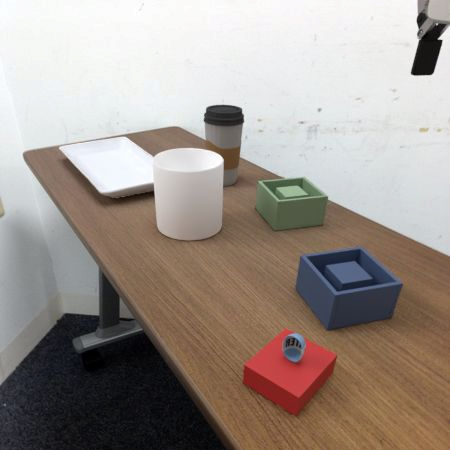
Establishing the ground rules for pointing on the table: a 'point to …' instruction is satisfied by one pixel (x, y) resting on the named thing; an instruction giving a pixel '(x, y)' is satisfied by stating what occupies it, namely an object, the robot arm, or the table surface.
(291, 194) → the sage block
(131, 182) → the tray
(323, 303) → the slate bin
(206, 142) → the coffee cup
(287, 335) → the red rectangular block
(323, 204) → the sage bin
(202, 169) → the cup
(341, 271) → the slate block
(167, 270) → the table surface
